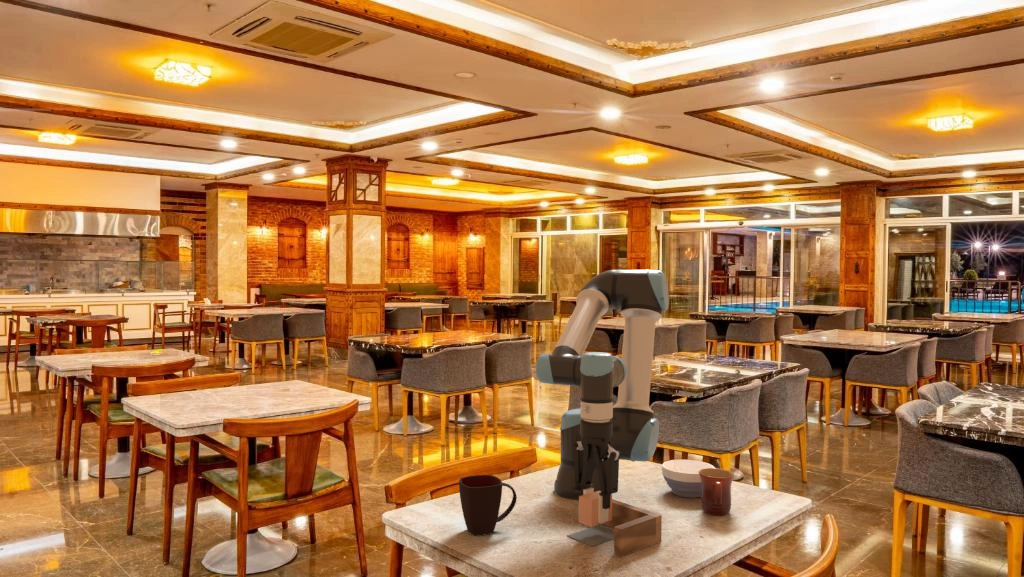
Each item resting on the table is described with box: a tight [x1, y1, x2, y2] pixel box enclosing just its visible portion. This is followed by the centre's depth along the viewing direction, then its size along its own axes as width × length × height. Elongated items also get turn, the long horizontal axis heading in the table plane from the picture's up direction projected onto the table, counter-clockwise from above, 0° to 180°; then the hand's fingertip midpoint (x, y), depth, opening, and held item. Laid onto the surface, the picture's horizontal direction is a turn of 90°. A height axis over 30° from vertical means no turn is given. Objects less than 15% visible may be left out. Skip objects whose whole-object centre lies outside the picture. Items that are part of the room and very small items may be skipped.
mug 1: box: [458, 474, 517, 536], centre depth 169 cm, size 10×14×12 cm
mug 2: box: [699, 467, 735, 517], centre depth 180 cm, size 12×9×10 cm
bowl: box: [661, 459, 716, 499], centre depth 198 cm, size 14×14×8 cm
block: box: [578, 491, 613, 528], centre depth 166 cm, size 7×4×6 cm, turn 131°
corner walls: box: [601, 498, 663, 558], centre depth 166 cm, size 20×14×6 cm
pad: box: [567, 524, 614, 547], centre depth 166 cm, size 8×11×1 cm
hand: (595, 518), depth 166 cm, fingers closed on block, 4 cm apart
